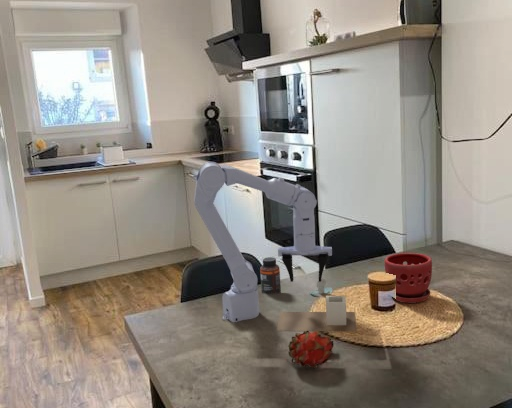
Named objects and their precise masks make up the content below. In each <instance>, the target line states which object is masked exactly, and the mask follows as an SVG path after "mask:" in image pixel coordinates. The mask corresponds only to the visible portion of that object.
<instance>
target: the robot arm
mask: <svg viewBox="0 0 512 408" xmlns="http://www.w3.org/2000/svg"><path fill="white" fill-rule="evenodd" d="M235 184H238V185H242V186H244V187H248V188H252V189H253V190H257V191H260V192H263V193H264V194H265V197H266V198H267V199H268V200H272V201H274V202H277V203H280V204H283V205H285V206H289V207H290V206H293V208H292V210H293V211H292V212H293V215H292V221H293V222H292V223H293V225H292V226H293V246H285V247H283V246H282V247H278V249H277V256H278V257H281V260H282V263H283V264H284V266H285V267H286V268H285V269H286V270H287V272H288V275H289V280H290V281H289V282H291V283H293V282H294V270H293V256H318V281H319V282H321V278H322V277H323V273H324V270H325V266H326V264H327V262H328V260H329V257H330V256H332V255H333V248H332V246H320V245H316V225H315V224H316V223H315V208H316V206H317V203H318V200H317V199H316V196H315V194H314V193H313V192H312V191H310V190H309V189H307V188H305V187H304V186H301V184H299V183H296V184H293V183H291V182H288V181H285V178H282V177H280V176H279V177H278V178H276V177H272V178H271V179H265V178H262V177H260V176H257V175H254V174H252V173H249V172H247V171H245V170H242V169H239V168H237V167H234V166H230V165H227V164H222V163H220V164H218V162H215V161H207V162H205V163H203V164H202V165H201V167H200V168H199V170H198V173H197V174H196V178H195V186H194V187H195V189H194V197H193V203H194V207H195V209H196V211H197V212H198V214H199V216H200V217H201V220H202V221H203V223H204V225H205V227H206V229H207V230H208V232H209V233H210V235H211V236H210V237H212V239H213V241H214V242H215V244H216V246H217V248H218V250H219V251H220V254H221V255H222V257H223V258H224V260H225V262H226V264H227V267H228V268H229V270H230V275H231V277H232V279H233V283H232V284H231V285H230V289H229V290H228V291H225V292H224V293H223V294H222V297H221V299H222V315H223V316H222V320H224V321H225V320H229V321H230V322H232V323H237V322H240V321H245V320H251V319H255V318H257V317H258V316H259V315H260V308H259V307H260V304H259V290H258V289H259V287H258V282H259V281H258V276H257V274H256V273H255V271H254V267H253V265H252V263H251V262H250V261H248V260H246V259H245V258H244V256H243V254H242V252H241V251H240V249H239V247H238V245H237V244H236V241H235V239H234V238H233V236H232V234H231V232H230V231H229V229H228V227H227V226H226V224H225V222H224V220H223V218H222V217H221V214H220V212H219V210H218V209H217V207H216V205H215V204H214V203H215V200H216V197H217V194H218V192H219V191H220V190H221V189H222V188H223V187H224V185H225V186H226V187H227V186H228V187H229V186H231V185H235Z"/></svg>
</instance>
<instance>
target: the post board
mask: <svg viewBox="0 0 512 408" xmlns="http://www.w3.org/2000/svg"><path fill="white" fill-rule="evenodd" d="M335 302H336V301H335ZM276 331H277V332H304V331H309V332H314V331H319V332H358V327H357V321H356V313H355V311H346V325H327V324H326V311H280V312H279V317H278V322H277V327H276Z"/></svg>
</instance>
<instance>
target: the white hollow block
mask: <svg viewBox="0 0 512 408" xmlns="http://www.w3.org/2000/svg"><path fill="white" fill-rule="evenodd" d="M335 301H336V302H335ZM325 312H326V324H327V325H346V312H347V300H346V295H325Z"/></svg>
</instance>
